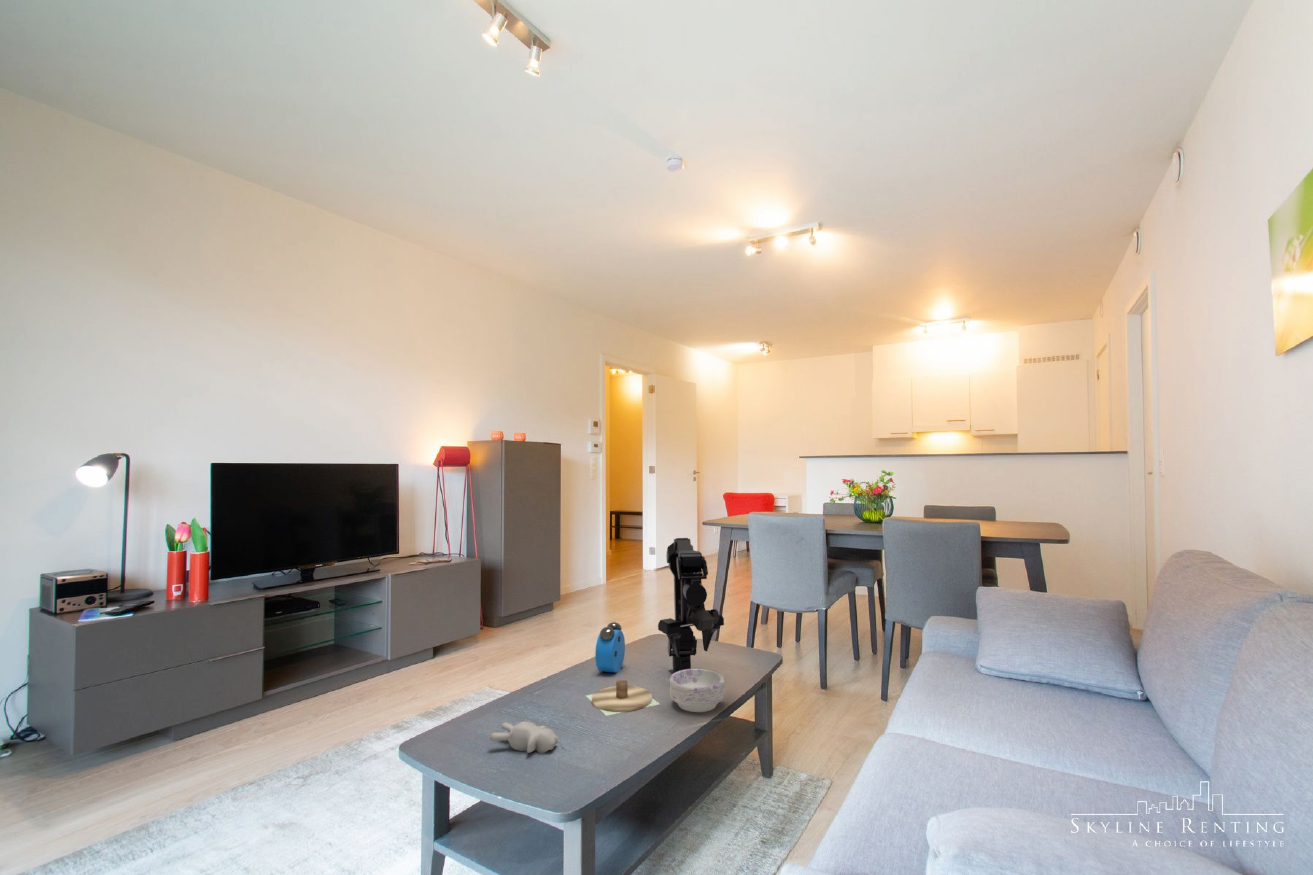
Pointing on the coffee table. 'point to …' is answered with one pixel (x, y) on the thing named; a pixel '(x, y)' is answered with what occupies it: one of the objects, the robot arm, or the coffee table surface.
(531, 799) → the coffee table surface
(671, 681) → the white and purple bowl
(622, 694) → the lid
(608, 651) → the alarm clock
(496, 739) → the bunny figurine
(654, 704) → the mat
